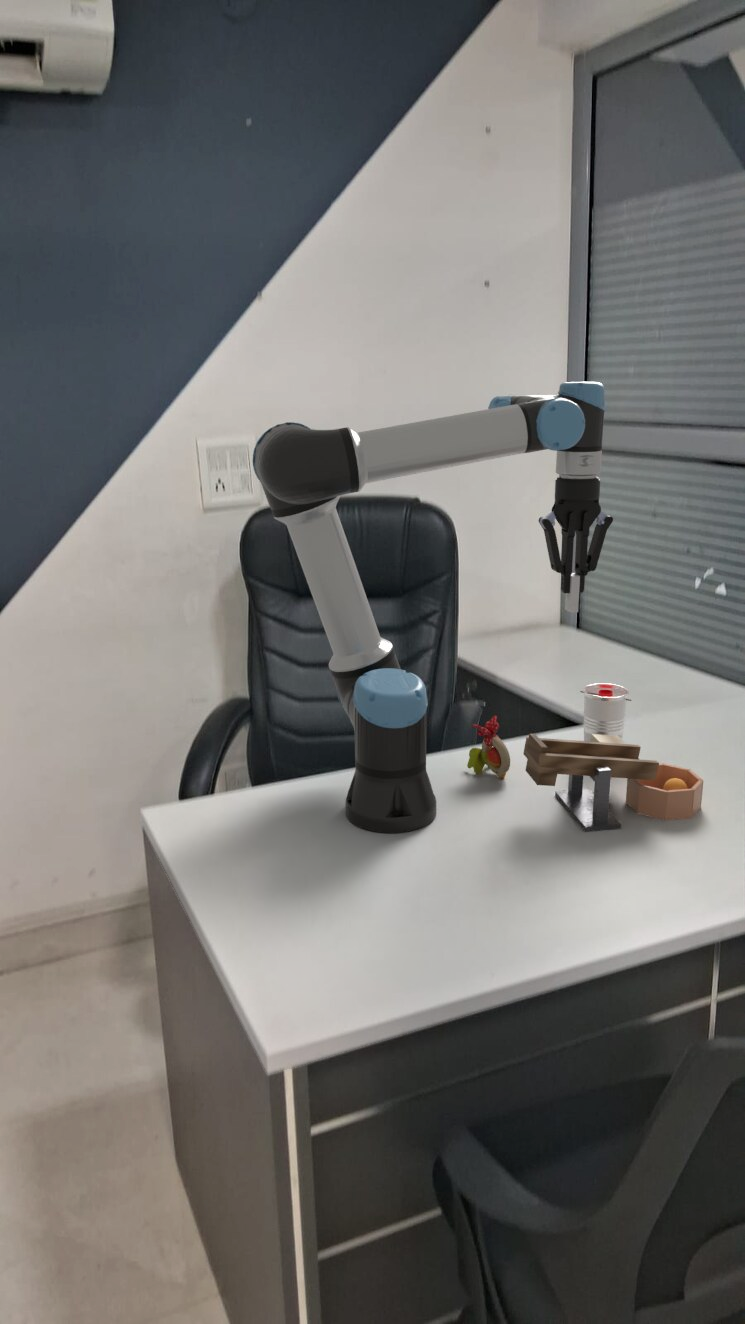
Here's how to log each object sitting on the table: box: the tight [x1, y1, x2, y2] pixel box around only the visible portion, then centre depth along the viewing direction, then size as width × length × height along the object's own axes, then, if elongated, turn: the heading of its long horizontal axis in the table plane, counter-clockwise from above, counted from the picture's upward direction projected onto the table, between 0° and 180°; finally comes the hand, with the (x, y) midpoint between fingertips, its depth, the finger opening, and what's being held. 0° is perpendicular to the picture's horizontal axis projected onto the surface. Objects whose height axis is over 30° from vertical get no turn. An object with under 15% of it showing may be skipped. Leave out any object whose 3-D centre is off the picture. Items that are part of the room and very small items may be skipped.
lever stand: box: [554, 766, 622, 833], centre depth 163 cm, size 6×14×10 cm, turn 10°
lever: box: [523, 733, 660, 787], centre depth 166 cm, size 20×16×6 cm
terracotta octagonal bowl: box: [625, 763, 704, 821], centre depth 166 cm, size 11×11×5 cm
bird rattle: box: [466, 715, 511, 779], centre depth 179 cm, size 6×11×9 cm
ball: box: [663, 778, 688, 791], centre depth 166 cm, size 4×4×4 cm
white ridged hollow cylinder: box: [580, 682, 632, 742], centre depth 189 cm, size 10×8×12 cm
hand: (571, 610), depth 175 cm, fingers closed
